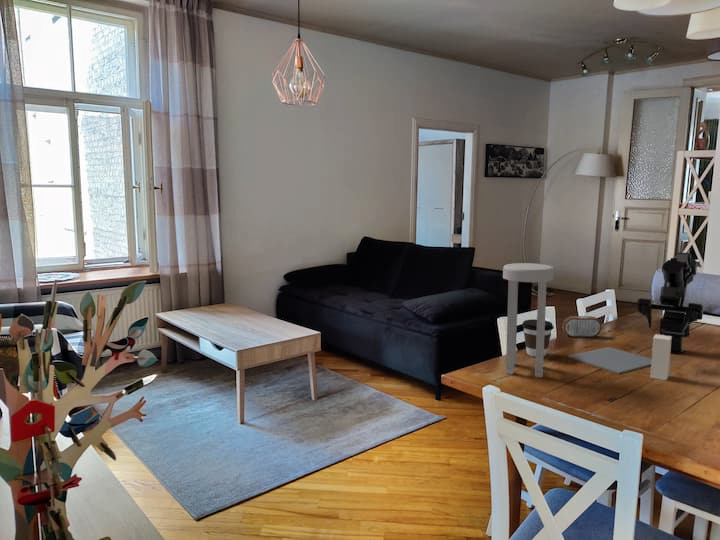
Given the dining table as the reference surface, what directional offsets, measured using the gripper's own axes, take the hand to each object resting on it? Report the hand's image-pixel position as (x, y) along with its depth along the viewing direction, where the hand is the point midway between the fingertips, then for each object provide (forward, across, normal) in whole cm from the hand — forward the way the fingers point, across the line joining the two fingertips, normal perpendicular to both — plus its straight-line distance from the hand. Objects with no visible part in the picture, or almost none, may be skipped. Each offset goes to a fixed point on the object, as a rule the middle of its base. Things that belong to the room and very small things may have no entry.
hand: (665, 329), depth 172 cm
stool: (+28, -37, -9) cm, 47 cm away
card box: (+15, 0, +4) cm, 16 cm away
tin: (-9, -32, +29) cm, 44 cm away
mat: (+9, -15, +10) cm, 20 cm away
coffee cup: (+15, -39, +4) cm, 42 cm away
